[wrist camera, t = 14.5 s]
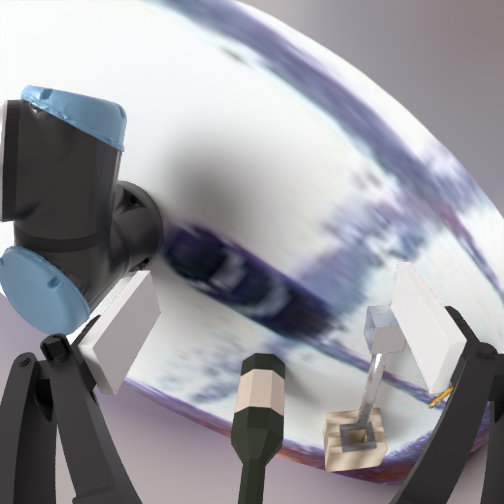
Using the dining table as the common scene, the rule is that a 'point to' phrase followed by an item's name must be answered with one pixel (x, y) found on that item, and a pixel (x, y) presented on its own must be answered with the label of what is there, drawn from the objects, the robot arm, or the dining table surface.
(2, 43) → the dining table surface
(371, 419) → the eye block
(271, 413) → the wine bottle
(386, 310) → the pull pin
